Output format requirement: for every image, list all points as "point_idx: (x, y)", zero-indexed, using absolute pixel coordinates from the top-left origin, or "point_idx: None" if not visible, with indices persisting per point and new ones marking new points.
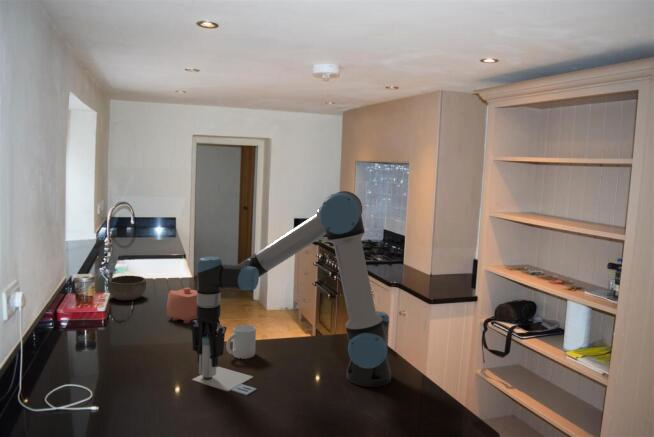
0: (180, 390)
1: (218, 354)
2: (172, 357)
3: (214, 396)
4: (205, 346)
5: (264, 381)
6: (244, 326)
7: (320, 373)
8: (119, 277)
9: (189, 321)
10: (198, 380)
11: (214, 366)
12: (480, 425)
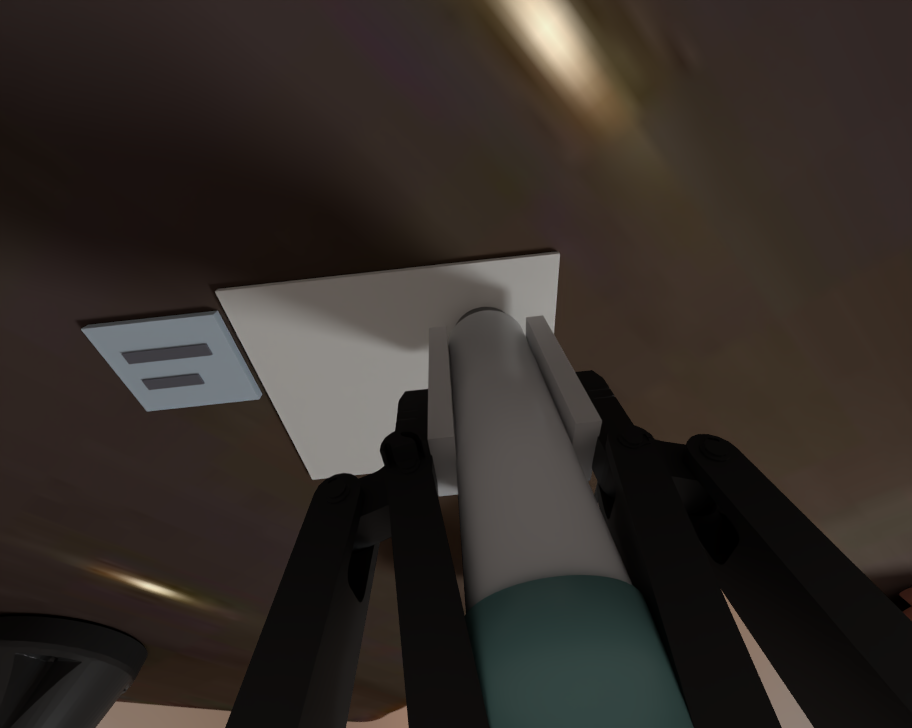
0: (502, 21)
1: (309, 511)
2: (862, 392)
3: (189, 158)
4: (526, 550)
5: (236, 478)
6: None
7: (184, 604)
8: None
9: (906, 598)
10: (506, 271)
11: (404, 396)
12: None
